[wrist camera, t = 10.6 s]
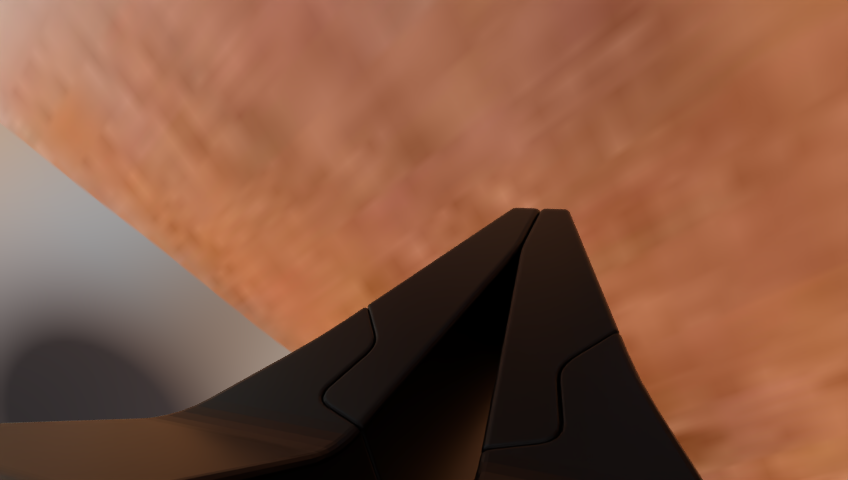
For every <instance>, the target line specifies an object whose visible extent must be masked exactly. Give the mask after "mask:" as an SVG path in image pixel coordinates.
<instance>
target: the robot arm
mask: <svg viewBox="0 0 848 480" xmlns="http://www.w3.org/2000/svg"><path fill="white" fill-rule="evenodd" d="M0 480H703V479H702V478H701V476H700V475H699V473H698V472H697V470H696V468H695V467H694V465H693V464H692V462H691V461H690V459H689V457H688V456H687V454H686V453H685V451H684V450H683V448H682V446H681V445H680V443H679V442H678V440H677V439H676V437H675V435H674V434H673V432H672V431H671V429H670V428H669V426H668V425H667V423H666V421H665V420H664V418H663V417H662V415H661V414H660V412H659V410H658V409H657V407H656V405H655V403H654V402H653V400H652V398H651V397H650V395H649V393H648V391H647V390H646V388H645V386H644V385H643V383H642V381H641V379H640V377H639V375H638V373H637V371H636V369H635V366H634V364H633V362H632V360H631V358H630V356H629V354H628V351H627V349H626V347H625V344H624V342H623V339H622V337H621V335H619V331H618V328H617V326H616V323H615V321H614V318H613V316H612V314H611V311H610V309H609V306H608V304H607V302H606V299H605V297H604V294H603V292H602V289H601V287H600V285H599V282H598V280H597V277H596V275H595V273H594V270H593V268H592V265H591V263H590V260H589V258H588V256H587V253H586V251H585V248H584V246H583V243H582V241H581V239H580V236H579V234H578V231H577V229H576V227H575V224H574V222H573V219H572V217H571V214H570V212H569V211H568V210H565V209H543V210H541V212H540V211H539V210H538V209H534V208H513V209H512V210H510V211H508V212H507V213H505V214H504V215H502V216H501V217H499V218H498V219H496V220H495V221H493V222H492V223H490V224H489V225H487V226H486V227H484V228H483V229H481V230H480V231H478V232H477V233H475V234H474V235H472V236H471V237H469V238H468V239H466V240H465V241H463V242H462V243H460V244H459V245H457V246H456V247H454V248H453V249H451V250H450V251H448V252H447V253H445V254H444V255H442V256H441V257H439V258H438V259H436V260H435V261H434V262H432V263H431V264H429V265H428V266H426V267H425V268H423V269H422V270H420V271H419V272H417V273H416V274H414V275H413V276H411V277H410V278H408V279H407V280H405V281H404V282H402V283H401V284H399V285H398V286H396V287H395V288H393V289H392V290H390V291H389V292H387V293H386V294H384V295H383V296H381V297H380V298H378V299H377V300H375V301H374V302H372V303H371V304H369V305H368V309H367V308H363V309H361V310H360V311H358V312H357V313H355V314H354V315H352V316H351V317H349V318H348V319H346V320H345V321H343V322H342V323H340V324H339V325H337V326H335V327H334V328H332V329H331V330H329V331H328V332H326V333H324V334H323V335H321V336H320V337H318V338H316V339H315V340H313V341H311V342H309V343H308V344H306V345H304V346H303V347H301V348H299V349H297V350H296V351H294V352H292V353H290V354H289V355H287V356H285V357H283V358H282V359H280V360H278V361H276V362H274V363H272V364H271V365H269V366H267V367H265V368H263V369H262V370H260V371H258V372H256V373H255V374H253V375H251V376H249V377H247V378H246V379H244V380H242V381H240V382H238V383H236V384H235V385H233V386H231V387H229V388H227V389H226V390H224V391H222V392H220V393H218V394H217V395H215V396H213V397H211V398H209V399H207V400H206V401H203V402H201V403H199V404H197V405H195V406H193V407H190V408H187V409H185V410H182V411H179V412H176V413H172V414H168V415H164V416H158V417H153V418H141V419H112V420H81V421H54V422H52V421H51V422H22V423H0Z"/></svg>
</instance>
